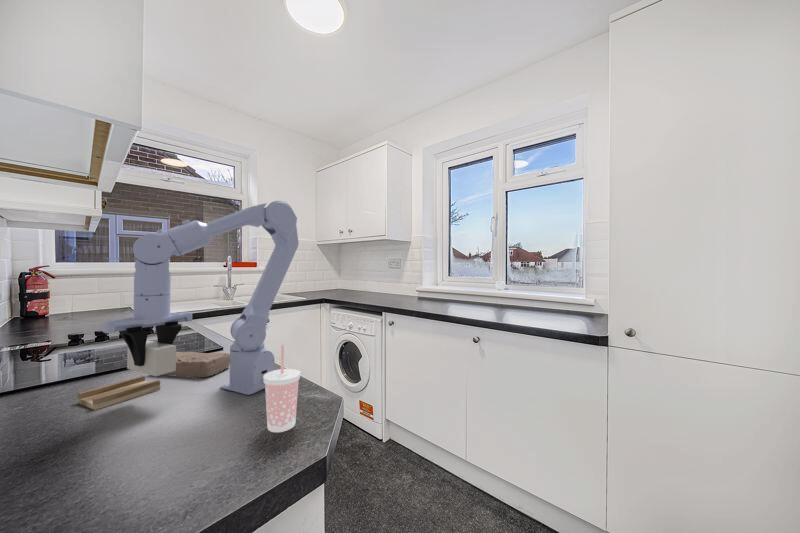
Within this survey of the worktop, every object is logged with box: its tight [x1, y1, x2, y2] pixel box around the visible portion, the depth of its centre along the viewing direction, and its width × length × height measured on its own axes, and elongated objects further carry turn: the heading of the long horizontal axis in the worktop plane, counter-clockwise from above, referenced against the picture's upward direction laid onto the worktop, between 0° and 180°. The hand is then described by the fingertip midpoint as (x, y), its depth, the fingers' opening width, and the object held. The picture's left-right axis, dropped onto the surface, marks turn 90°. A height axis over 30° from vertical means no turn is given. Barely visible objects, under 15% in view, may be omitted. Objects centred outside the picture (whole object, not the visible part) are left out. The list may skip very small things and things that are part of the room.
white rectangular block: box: [126, 339, 177, 377], centre depth 61 cm, size 10×4×5 cm, turn 66°
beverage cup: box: [263, 344, 301, 433], centre depth 53 cm, size 6×6×14 cm
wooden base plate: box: [77, 375, 161, 411], centre depth 64 cm, size 7×11×2 cm, turn 156°
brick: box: [162, 351, 230, 378], centre depth 80 cm, size 17×8×5 cm, turn 83°
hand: (151, 362), depth 61 cm, fingers closed on white rectangular block, 3 cm apart
